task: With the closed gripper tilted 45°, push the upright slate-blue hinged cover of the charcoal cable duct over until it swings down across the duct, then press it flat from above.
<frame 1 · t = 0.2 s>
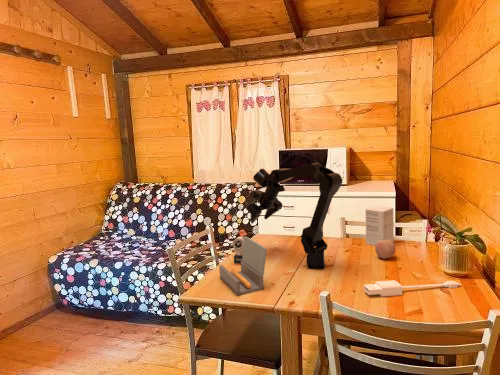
hand: (258, 220, 164), 15 cm above the table, tool tilted 35°, fingers open, 9 cm apart
cable duct: (240, 283, 132), on the table
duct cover: (253, 254, 133), point 10 cm above the table, hinge at 100.0°
watch: (242, 262, 155), on the table
charging cable: (411, 291, 118), on the table
supplement box: (379, 243, 169), on the table
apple: (385, 258, 149), on the table
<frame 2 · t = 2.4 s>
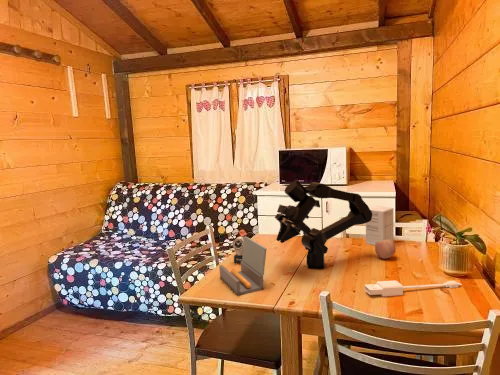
hand: (279, 241, 137), 13 cm above the table, tool tilted 45°, fingers open, 3 cm apart
nothing on the table moved.
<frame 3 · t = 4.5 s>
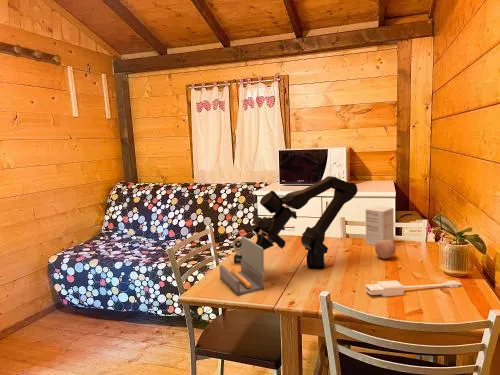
hand: (253, 253, 133), 10 cm above the table, tool tilted 45°, fingers closed, pressing on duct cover
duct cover: (252, 254, 132), point 10 cm above the table, hinge at 92.7°, touching gripper
everything else where it was.
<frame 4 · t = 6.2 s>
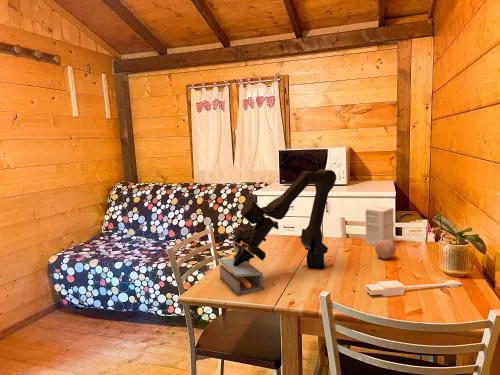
hand: (234, 265, 130), 7 cm above the table, tool tilted 45°, fingers closed, pressing on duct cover
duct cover: (239, 266, 131), point 6 cm above the table, hinge at 8.7°, touching gripper
everything else where it was.
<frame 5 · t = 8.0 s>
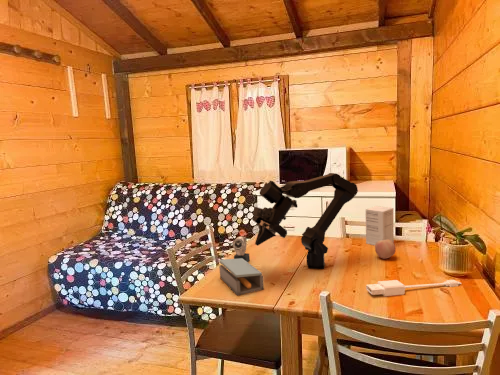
hand: (256, 244, 133), 13 cm above the table, tool tilted 40°, fingers closed
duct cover: (239, 267, 131), point 6 cm above the table, hinge at 7.4°
everything else where it was.
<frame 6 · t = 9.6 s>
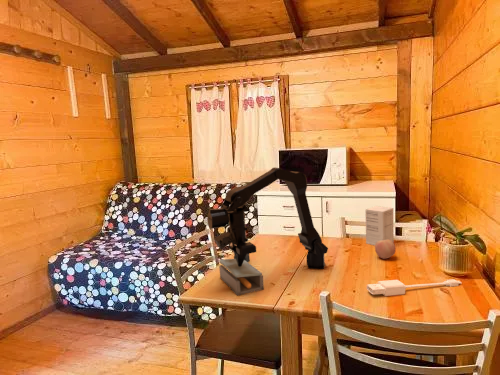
hand: (239, 266, 131), 7 cm above the table, tool pointing down, fingers closed, pressing on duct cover
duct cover: (239, 267, 131), point 6 cm above the table, hinge at 7.4°, touching gripper
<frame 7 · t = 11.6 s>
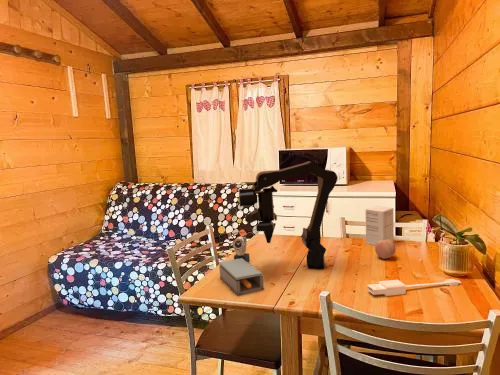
hand: (268, 242, 141), 11 cm above the table, tool pointing down, fingers closed
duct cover: (239, 268, 131), point 6 cm above the table, hinge at 2.1°
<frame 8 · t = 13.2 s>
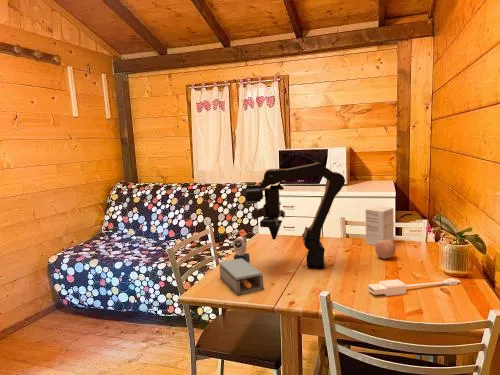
hand: (274, 239, 144), 12 cm above the table, tool pointing down, fingers closed
at the end: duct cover at +2° (first picture: +100°) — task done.
